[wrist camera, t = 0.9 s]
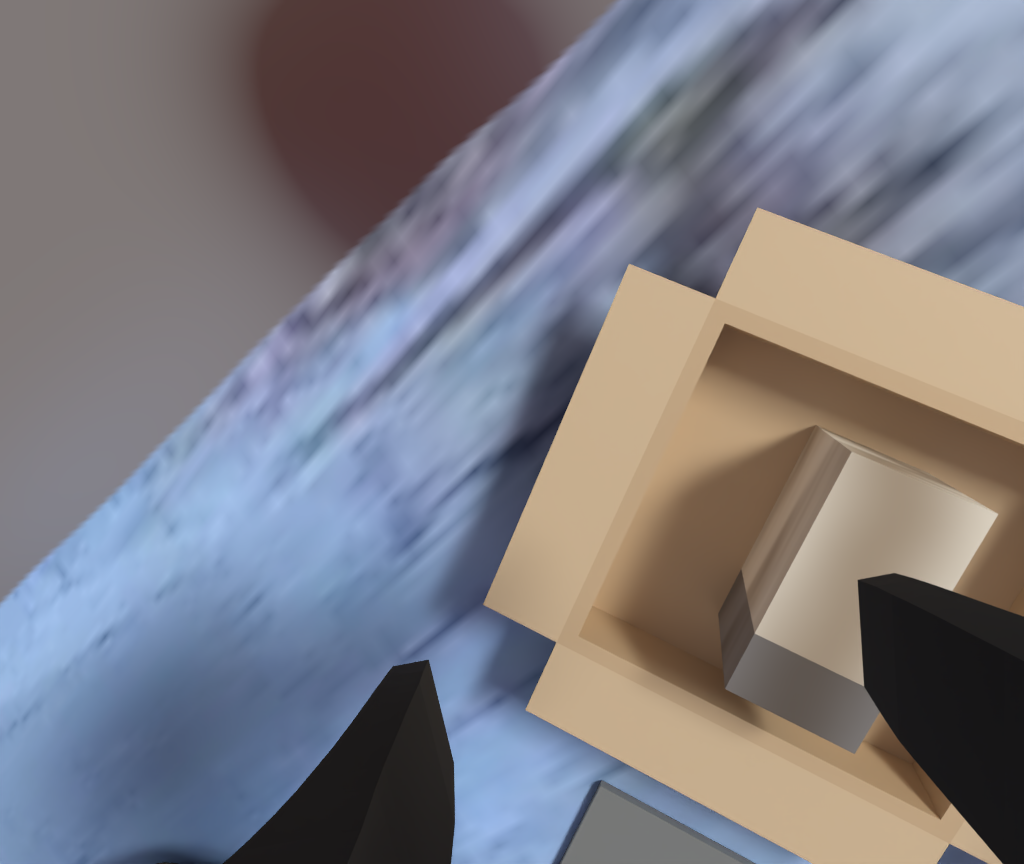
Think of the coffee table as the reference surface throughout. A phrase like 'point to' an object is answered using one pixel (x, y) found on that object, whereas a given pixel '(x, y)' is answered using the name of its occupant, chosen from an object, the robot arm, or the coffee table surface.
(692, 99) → the coffee table surface
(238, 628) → the coffee table surface
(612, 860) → the slate mat
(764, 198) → the coffee table surface
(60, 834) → the coffee table surface
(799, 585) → the block
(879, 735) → the carton
